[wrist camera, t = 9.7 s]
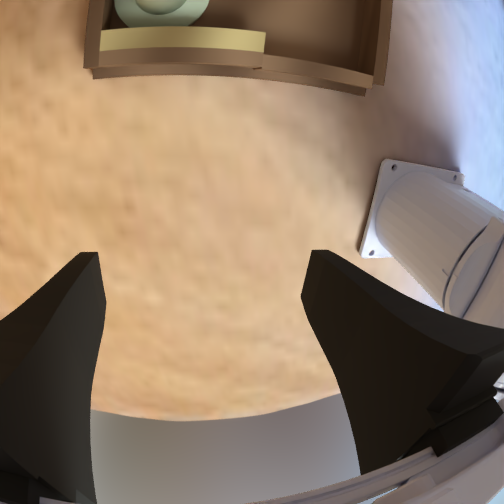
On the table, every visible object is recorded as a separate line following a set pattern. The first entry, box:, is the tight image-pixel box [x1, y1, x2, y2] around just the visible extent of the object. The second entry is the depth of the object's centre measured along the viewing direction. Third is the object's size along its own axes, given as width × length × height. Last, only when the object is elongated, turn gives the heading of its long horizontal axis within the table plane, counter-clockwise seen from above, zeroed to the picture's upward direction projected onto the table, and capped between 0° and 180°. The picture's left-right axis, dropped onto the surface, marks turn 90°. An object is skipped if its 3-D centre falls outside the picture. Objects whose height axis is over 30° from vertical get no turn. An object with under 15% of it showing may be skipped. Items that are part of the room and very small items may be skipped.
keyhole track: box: [83, 0, 393, 96], centre depth 13 cm, size 16×9×2 cm, turn 84°
